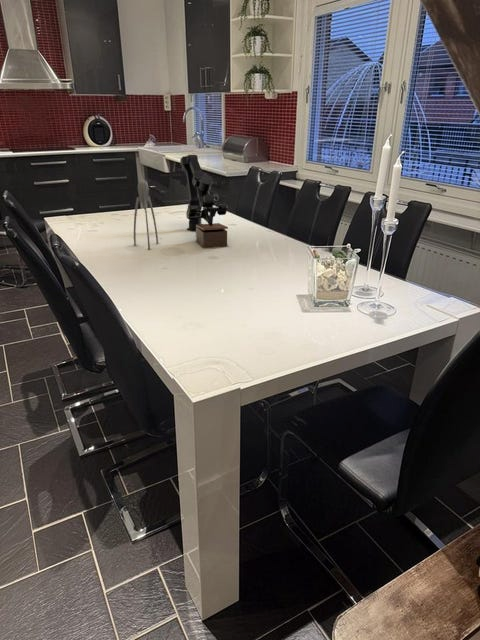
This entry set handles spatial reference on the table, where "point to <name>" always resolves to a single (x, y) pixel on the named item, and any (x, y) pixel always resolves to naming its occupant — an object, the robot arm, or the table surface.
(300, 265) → the table surface
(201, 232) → the walnut box
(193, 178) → the robot arm
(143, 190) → the grey three-legged stand fixture
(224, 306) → the table surface
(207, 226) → the door
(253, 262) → the table surface
